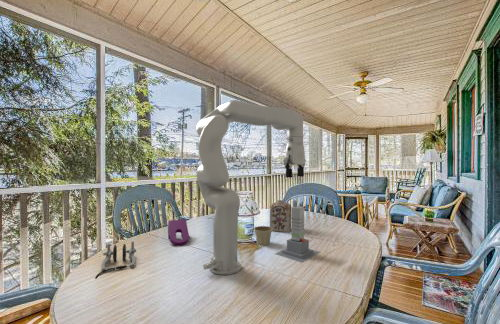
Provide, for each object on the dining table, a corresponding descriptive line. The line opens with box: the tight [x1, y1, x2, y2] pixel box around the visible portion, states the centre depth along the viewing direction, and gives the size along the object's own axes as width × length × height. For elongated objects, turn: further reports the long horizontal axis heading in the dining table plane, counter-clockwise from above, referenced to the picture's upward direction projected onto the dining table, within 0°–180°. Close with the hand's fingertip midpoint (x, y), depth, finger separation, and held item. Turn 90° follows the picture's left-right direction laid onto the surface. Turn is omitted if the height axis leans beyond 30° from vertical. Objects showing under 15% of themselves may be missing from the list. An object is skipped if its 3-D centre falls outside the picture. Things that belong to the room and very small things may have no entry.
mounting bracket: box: [167, 218, 190, 247], centre depth 137 cm, size 9×8×18 cm
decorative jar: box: [269, 199, 292, 233], centre depth 159 cm, size 12×12×18 cm
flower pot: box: [253, 225, 273, 246], centre depth 129 cm, size 9×9×9 cm
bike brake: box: [94, 240, 137, 279], centre depth 104 cm, size 14×7×20 cm
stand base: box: [274, 237, 321, 263], centre depth 115 cm, size 16×14×8 cm
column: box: [291, 205, 305, 242], centre depth 115 cm, size 4×4×14 cm
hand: (294, 176), depth 123 cm, fingers open, 9 cm apart
